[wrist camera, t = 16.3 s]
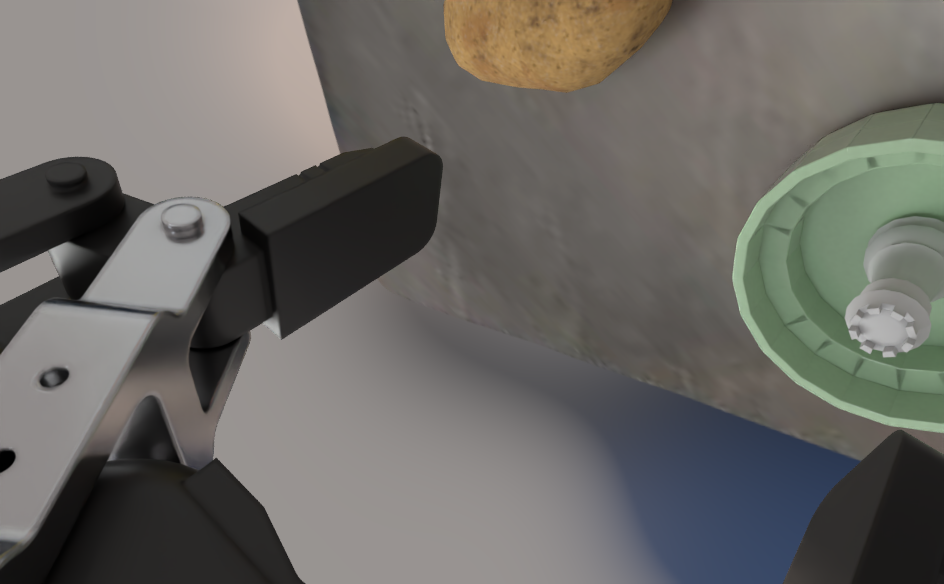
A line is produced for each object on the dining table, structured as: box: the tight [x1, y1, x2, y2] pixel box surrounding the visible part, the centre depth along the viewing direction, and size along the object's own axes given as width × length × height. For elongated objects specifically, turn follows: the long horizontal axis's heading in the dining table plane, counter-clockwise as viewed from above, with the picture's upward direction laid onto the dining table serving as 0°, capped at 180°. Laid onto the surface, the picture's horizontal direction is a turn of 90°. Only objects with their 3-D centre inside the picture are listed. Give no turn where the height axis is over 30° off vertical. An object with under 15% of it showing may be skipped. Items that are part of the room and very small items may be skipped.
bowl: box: [732, 103, 944, 433], centre depth 31 cm, size 15×15×6 cm
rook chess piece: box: [845, 216, 944, 357], centre depth 30 cm, size 4×4×8 cm
